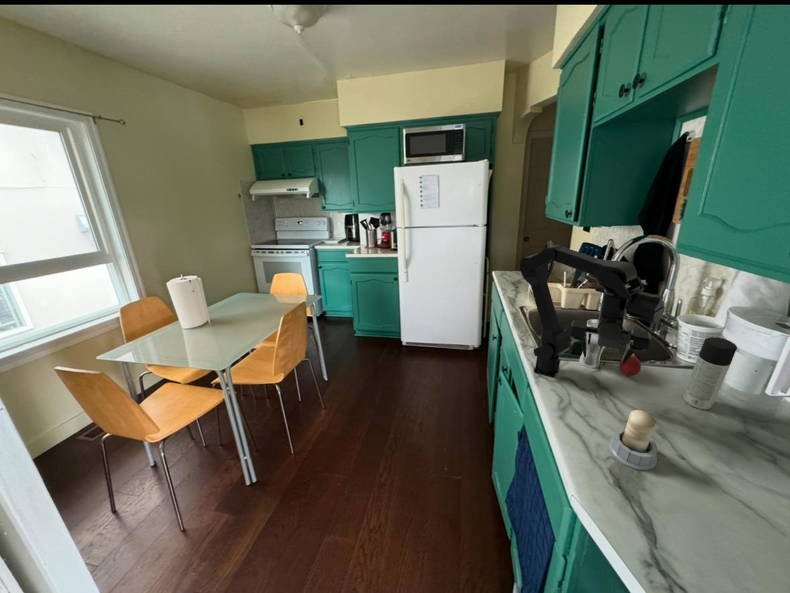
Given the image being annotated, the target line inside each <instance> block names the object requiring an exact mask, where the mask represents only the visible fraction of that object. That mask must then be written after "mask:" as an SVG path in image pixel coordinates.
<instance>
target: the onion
mask: <svg viewBox="0 0 790 593" xmlns="http://www.w3.org/2000/svg"><path fill="white" fill-rule="evenodd" d="M622 359H623V357H622V358H621V359H620V360H619V363H618V367H619V370H620V371H621V373H622V374H624V375H625V376H626V377H629V376H630V377H631V376H637V375H638V374H639V373H640V372H641V370H642V363H641V361H640V359H638V358H637V356H636V354H635V353H633V354H632V355H631V356H630V357H629V359H628V360H627V361H626V363H625V364H624V365H622Z"/></svg>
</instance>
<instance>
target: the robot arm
mask: <svg viewBox="0 0 790 593" xmlns="http://www.w3.org/2000/svg"><path fill="white" fill-rule="evenodd" d="M554 262H557V263H558V264H561V265H564V266H567V267H569V268H572V269H575V270H578V271H580V272H582V273H585V274H588V275H590V276H592V277H593V278H595V280H596V281H597V282H598V283H600V284H601V285H600V286H598V287H595V289H594V290H595V292H598V293H602V299H601V305H600V311H599V317H598V320H599V321H598V327H597V328H595V327H589V326H587V321H584V320H578V319H573V320H572V321H571V324H570V328H569V329H568V328H567V329H564V328H563V327H562V326H561V325H560V323H559V319H558V316H557V312H556V308H555V305H554V301H553V298H552V294H551V292H550V288H549V284H548V277H549V272H550V269H549V265H550V264H552V263H554ZM518 269H519V271H520V273H521V276H522V278H523V280H525V281H526V283H528V285H529V286H530V288H531V292H532V296H533V300H534V304H535V305H536V310H537V313H538V317H539V320H540V323H541V328H542V330H541V336H540V344H541V345H538V346H537V347H535V348H534V349H533V354H534V356H535V357H536V361H535V367H534V369H533V372H534V373H536V374H540V375H543V376H546V377H551V378H555V377H556V375H557V374H558V373H559V370H560V364H561V360H562V359H561V358H560V355H562V354H563V353H565V352H567V351H569V349H570V348H571V344H572V342H573V340H572V337H573V339H574V340H577V341H578V342H579V344H580V346H581V351H582V352H583V355H584V357H585V358H586V353H587V333H588V334H594V335H599V336H598V345H599V346H602V347H604V346H605V347H607V348H611V349H613V350H615V349H616V350H617V349H619V348H620V345H621V346H625V345H626V347H625V350H624V353H623V355H622V358H623V359H622V358H621V359H622V365H624V364H625V363H626V361H627V360H628V359H629V357H630V356H631V355H632V354H635V353H636V352H638V351H640V352H643V351H644V350H646V351H647V350H650V349H651V346H652V335H651V333H650V332H649V331H648V330H643V329H635V328H632V330H626V329H624V323H625V322H624V321H625V317H626V315H628V316H630V317H632V318H635V319H639V320H642V321H644V322H648V323H652V324H655V325H656V324H658V323H659V321H660V320H661V319H662V317H663V315H664V313H665V312H664V311H665V309H666V307H665V302H664V296H663V295H661V294H660V295H659V294H652V293H648V292H644V290H645V287H644V285H643V283H642V281H641V280H640V278H639V276H638V271H637V269H636V266H635V265H634V264H633V263H630V262H627V261H621V260H614V259H613V260H610V259H606V260H605V259H600V258H597V257H594V256H591V255H588V254H586V253H582V252H579V251H577V250H573V249H570V248H568V247H565V246H563V245H562V244H555V245H552V246H549V247H547V248H546V249H545V250H543V251H540V252H539V253H535V254H532V255H529V256H525V257H524V258H523V257H522V259H521V260H520V262H519V263H518ZM627 285H629V286H628V287H626V286H627ZM605 347H604V348H605Z"/></svg>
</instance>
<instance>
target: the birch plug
mask: <svg viewBox="0 0 790 593" xmlns="http://www.w3.org/2000/svg"><path fill="white" fill-rule="evenodd" d="M656 424H657V420H656V418H655V417H654V416H653V415H652V414H651V413H648V412H646V411H644V410H640V409H634V410H631V411H630V412H629V416H628V420H627V423H626V426H625V428H626V429H625V432H624V435H623V438H622V444H623V445H624V446H626V447H627V448H629V449H630V450H632V451H635V452H638V453H645V452H646V449H647V446H648V444H649V441H650V438H651V439H652V435H653V432H654V429H655V427H656Z"/></svg>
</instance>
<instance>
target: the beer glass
mask: <svg viewBox="0 0 790 593" xmlns="http://www.w3.org/2000/svg"><path fill="white" fill-rule="evenodd" d="M598 321H599V318H598V319H597V318H596V319H594V318H591V319H588V320H587V321H586V322H587V326H589V327H595V328H597V327H598ZM598 336H599V335H594V334H588V333H587V353H586V358H585V357H584V355H583V351H582V353H581V355H580V357H579V363H580V364H581V365H582V366H584V367H585V368H589V369H591V368H592V369H596V368H598V367H600V363H601V360H600V358H601V355H602V353H603V351H604V350H605V349H604V348H605V346H604V347H602V346H599V345H598Z"/></svg>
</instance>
